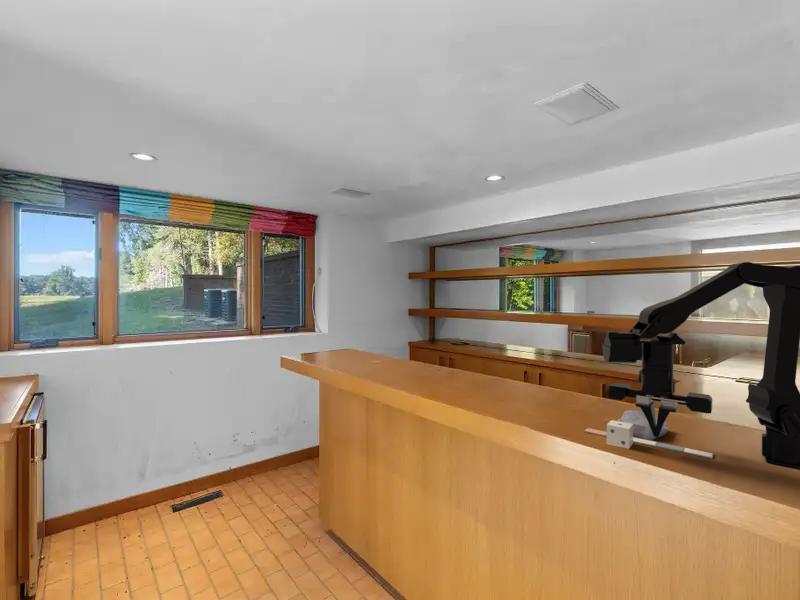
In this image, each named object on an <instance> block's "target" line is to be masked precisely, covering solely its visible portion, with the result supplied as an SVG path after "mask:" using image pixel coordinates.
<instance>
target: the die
mask: <svg viewBox="0 0 800 600" xmlns="http://www.w3.org/2000/svg"><path fill="white" fill-rule="evenodd" d="M606 432H607V437H606V442H605V443H606V445H607V446H608V445H609V446H613V447H619V448H621V449H627V450H629V449H630V448H631V447H632V446H633V444H634V442H633V424H630V423H624V422H619V421H618V420H612V419H610V421H609V422H608V423H607V424H606Z"/></svg>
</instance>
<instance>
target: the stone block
mask: <svg viewBox="0 0 800 600" xmlns="http://www.w3.org/2000/svg"><path fill="white" fill-rule="evenodd" d="M657 419H658V415H656V424H657ZM617 421H619V422H624V423H630V424H633V437H635V438H639V439H644V440H649V441H654V440H655V439H658V438H661V437H663V436H665V435H667V433H668V431H669V427H668V424H667V421H666V420H665V422H664V425H663V427H662V430H661V432H660V435H659V437H654V435H653V433H652V430H651V428H650V425H649V423H648V421H647V418H646V417H645V415H644V413H643V411H642V410H641V411H639V410H626V411H624V412H623V414H622V416H621V418H618V420H617Z"/></svg>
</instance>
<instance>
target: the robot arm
mask: <svg viewBox="0 0 800 600" xmlns="http://www.w3.org/2000/svg"><path fill="white" fill-rule="evenodd" d="M742 285H748V286H752V287H757V288H762V295H763V298H764V300H765V302H766V304H767V307H768V309H769V317H768V325H767V335H766V336H767V337H766V343H765V344H766V345H765V346H766V347H765V355H764V361H763V372H762V377H761V379H760V380H759V381H758V383H757V384H752V383H748V386H747V388H748V389H747V390H748V395H747V398H746V400H745V403H747V404H748V408H749V410H750V412H751V413H752V414H753V415H754V416H755V417H757V421H758V423H759V424H760V425H761V426H763V427H765V433H764V432H763V433H761V446H760V447H761V448H760V449H761V450H760V453H761V456H762V457H763V458H764V460H765V462H767V463H770V464H775V465H780V466H784V467H790V468H794V469H799V470H800V390H799V388H798V386H797V383H796V380H797V369H798V360H799V351H800V350H799V349H800V265H793V266H778V265H768V264H760V263H753V262H750V261H744V262H743V261H742V262H737V263H731V264H730V265H729V266H728V267H727V268H726V269H724V270H722V271H720V272H718V273H717V274H715V275H713V276H711V277H710V278H708V279H706V280H705V281H703V282H700V283H699V284H698V285H696V286H694V287H692V288H690V289H689V290H686V291H685V292H682V294H680V295H678V296H676V297H673V298H670V299H667V300H662V301H660V302H657V303H655V304H652V305H649V306H647V307H645V308H643V309H642V310H641V311H640V312H639V316H638V321H636V323H635V324H634V325H633V326H632V327H631V329H630V330H629V331H628V332H617V331H608V330H607V331H606V332H605V333H606V335H605V338H604V341H603V344H602V355H603V360H604V361H605V363H616V364H617V363H618V364H636V363H637V361H640V360H641V369H640V370H639V371H638V377H637V378H638V381H637V382H638V383H639V385H641V389H635V388H632V386H631V384H627V383H621V382H620V383H618V382H613V383H611V384H610V385H608V386H607V387H606V398H607V399H610V400H617V401H623V400H624V399H626V397H627V398H632V399H633V398H634V399H635V400H636V403H635V407H637V408H640V410H641V412H643V413H644V415H645V417H646V418H647V421H648V423H649V425H650V428H651V430H652V433H653V435H654V437H658V438H660V437H659V435H660V432H661V430H662V427H663V425H664V422H665V421H666V420H667V418H668V416H669V415H670V413H677V411H678V409H679V406H680V405H682V406H686V407H687V409H689V411H690V412H695V413H702V414H703V413H704V414H712V410H713V398H712V396H711V395H710V394H706V393H698V392H697V393H696V392H689V391H688V393H687V395H680V394H675V393H676V381H675V378H674V352H675V350H674V349H675V348H674V346H675V345H682V346H684V345H686V340H684V339H682V338H681V336H679V335H678V333H676V332H674V331H675V330H676V329H678V328H679V327H680V326H682V325H683V324H684V323H685V322H686V321H687V320H688V318H689V317H690V316H691V315H692V314H693V313H695V312H696V311H698V310H700V309H701V308H704V307H705V306H706V305H708V304H710V303H712V302H714V301H717V299H719V298H721V297H723V296H724V295H726V294H728V293H730V292H731V291H734V290H735V289H737V288H738V287H741V286H742ZM660 334H661V335H660ZM667 334H668V335H667ZM656 402H660V405H659V407H658V411H657V415H656ZM656 416H657V417H658V419H657V424H656Z"/></svg>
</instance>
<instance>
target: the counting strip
mask: <svg viewBox="0 0 800 600" xmlns="http://www.w3.org/2000/svg"><path fill="white" fill-rule="evenodd" d="M583 432H584V433H588V434H592V435H595V436H596V435H597V436H602V437H606V438H607V431H605V430H599V429H595V428H590V427H587V428H586V429H585V430H583ZM633 444H639V445H645V446H649V447H653V448H657V449H665V450H667V451H668V450H669V451H673V452H678V453H683V454H687V455H691V456H695V457H696V456H698V457H701V458H707V459H711V460H714V459H713V458H714V453H712V452H708V451H702V450H698V449H693V448H689V447H688V448H687V447H684V446H683V447H682V446H678V445H672V444H668V443H663V442H658V441H654V440H647V439H642V438H638V437H633Z"/></svg>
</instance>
